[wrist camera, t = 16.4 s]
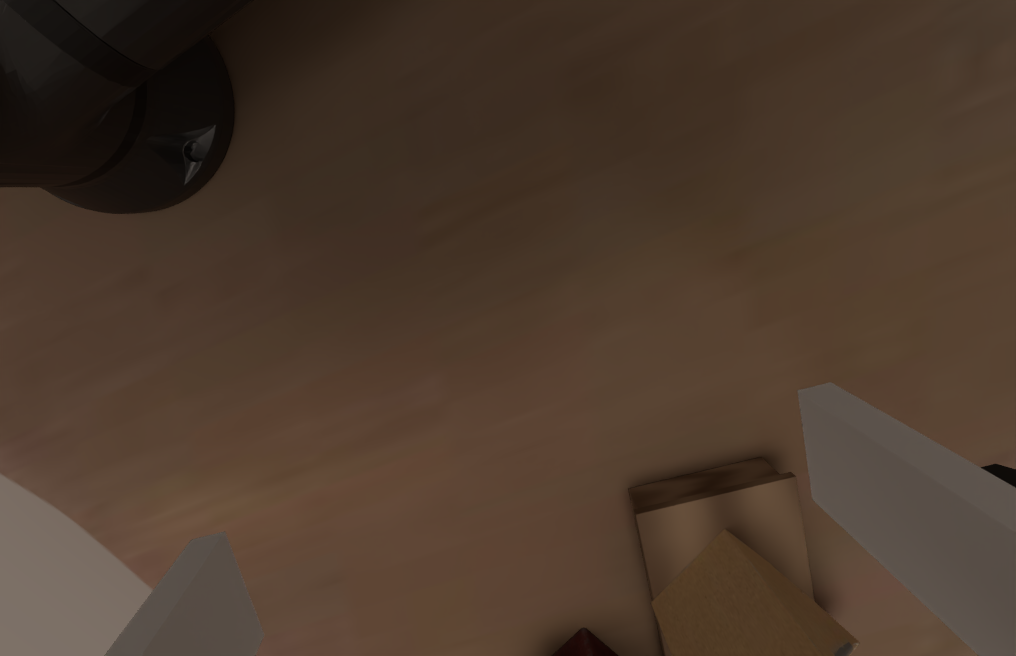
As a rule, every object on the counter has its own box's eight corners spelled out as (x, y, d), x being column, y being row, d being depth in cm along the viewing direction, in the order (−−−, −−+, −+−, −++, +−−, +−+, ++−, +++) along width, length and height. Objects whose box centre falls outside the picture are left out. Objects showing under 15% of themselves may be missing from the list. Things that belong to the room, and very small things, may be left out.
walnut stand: (663, 682, 57) (680, 728, 52) (620, 484, 53) (635, 514, 48) (798, 650, 57) (828, 693, 52) (766, 449, 53) (796, 476, 48)
